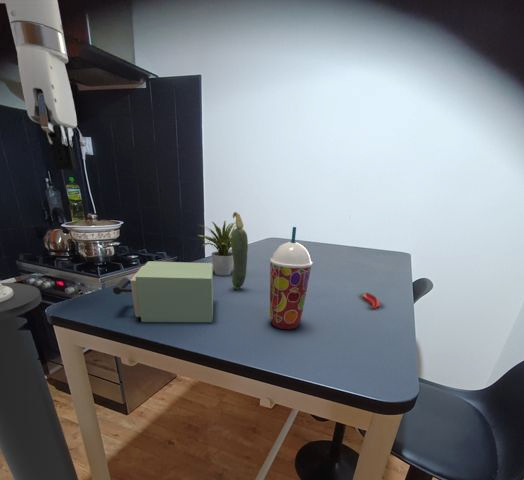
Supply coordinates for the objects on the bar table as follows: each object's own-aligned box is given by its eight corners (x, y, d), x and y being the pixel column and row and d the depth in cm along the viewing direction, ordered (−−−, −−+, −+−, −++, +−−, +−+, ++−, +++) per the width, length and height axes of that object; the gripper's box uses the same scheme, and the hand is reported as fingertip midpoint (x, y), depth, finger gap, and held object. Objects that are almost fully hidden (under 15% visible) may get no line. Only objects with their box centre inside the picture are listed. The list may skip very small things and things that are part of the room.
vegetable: (248, 289, 89) (251, 212, 79) (241, 293, 86) (243, 213, 76) (235, 286, 91) (236, 210, 81) (227, 290, 87) (227, 211, 77)
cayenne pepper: (379, 310, 80) (381, 303, 79) (361, 307, 81) (362, 300, 80) (379, 296, 90) (381, 290, 89) (362, 294, 91) (364, 287, 91)
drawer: (113, 316, 65) (107, 279, 61) (127, 298, 75) (122, 265, 71) (201, 317, 68) (200, 281, 64) (203, 299, 77) (202, 267, 74)
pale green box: (141, 322, 66) (135, 276, 61) (152, 301, 77) (147, 261, 72) (212, 322, 68) (211, 278, 63) (213, 301, 79) (212, 263, 74)
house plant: (213, 264, 111) (212, 214, 103) (250, 270, 107) (252, 218, 100) (193, 274, 99) (190, 218, 91) (233, 280, 95) (234, 223, 88)
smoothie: (276, 313, 74) (283, 222, 65) (309, 322, 71) (322, 227, 61) (258, 325, 68) (264, 226, 58) (294, 335, 64) (307, 232, 55)
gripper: (39, 57, 60) (62, 168, 69) (-12, 24, 47) (25, 167, 56) (81, 61, 61) (99, 171, 70) (43, 31, 48) (71, 170, 57)
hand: (66, 169), depth 63 cm, fingers closed
